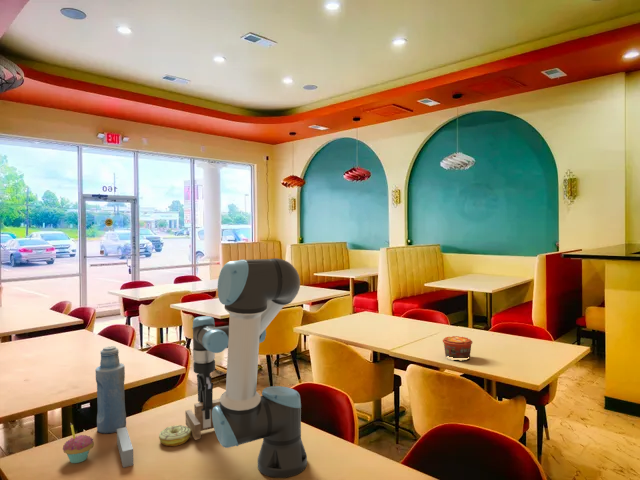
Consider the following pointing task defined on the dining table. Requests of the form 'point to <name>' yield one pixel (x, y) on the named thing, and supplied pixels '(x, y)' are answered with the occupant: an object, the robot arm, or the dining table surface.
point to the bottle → (110, 392)
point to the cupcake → (78, 447)
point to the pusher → (198, 419)
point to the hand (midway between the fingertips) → (205, 425)
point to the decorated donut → (174, 435)
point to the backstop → (125, 447)
